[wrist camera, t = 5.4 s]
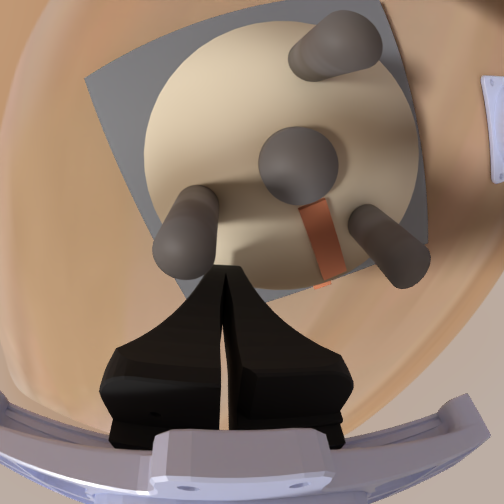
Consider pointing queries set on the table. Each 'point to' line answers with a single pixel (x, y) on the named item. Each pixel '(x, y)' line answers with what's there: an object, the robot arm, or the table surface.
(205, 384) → the robot arm
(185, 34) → the stand
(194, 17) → the table surface
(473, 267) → the table surface
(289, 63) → the capstan wheel
